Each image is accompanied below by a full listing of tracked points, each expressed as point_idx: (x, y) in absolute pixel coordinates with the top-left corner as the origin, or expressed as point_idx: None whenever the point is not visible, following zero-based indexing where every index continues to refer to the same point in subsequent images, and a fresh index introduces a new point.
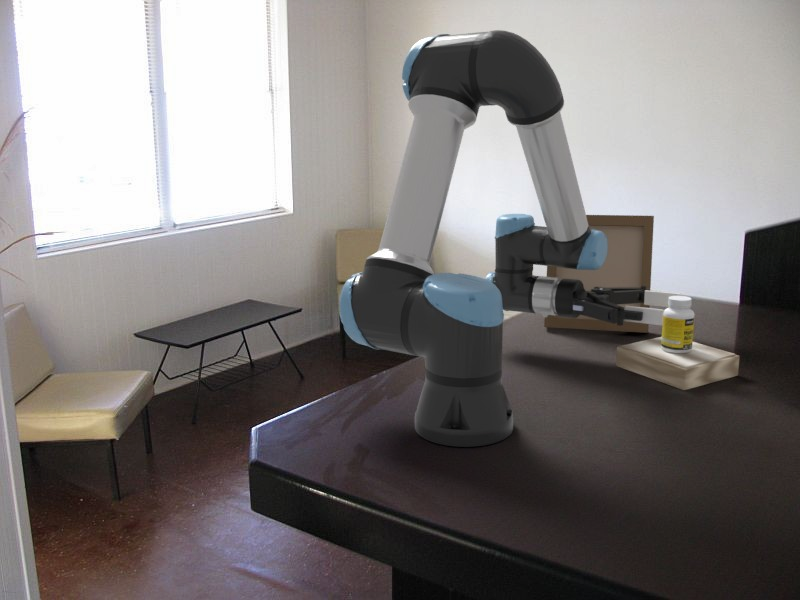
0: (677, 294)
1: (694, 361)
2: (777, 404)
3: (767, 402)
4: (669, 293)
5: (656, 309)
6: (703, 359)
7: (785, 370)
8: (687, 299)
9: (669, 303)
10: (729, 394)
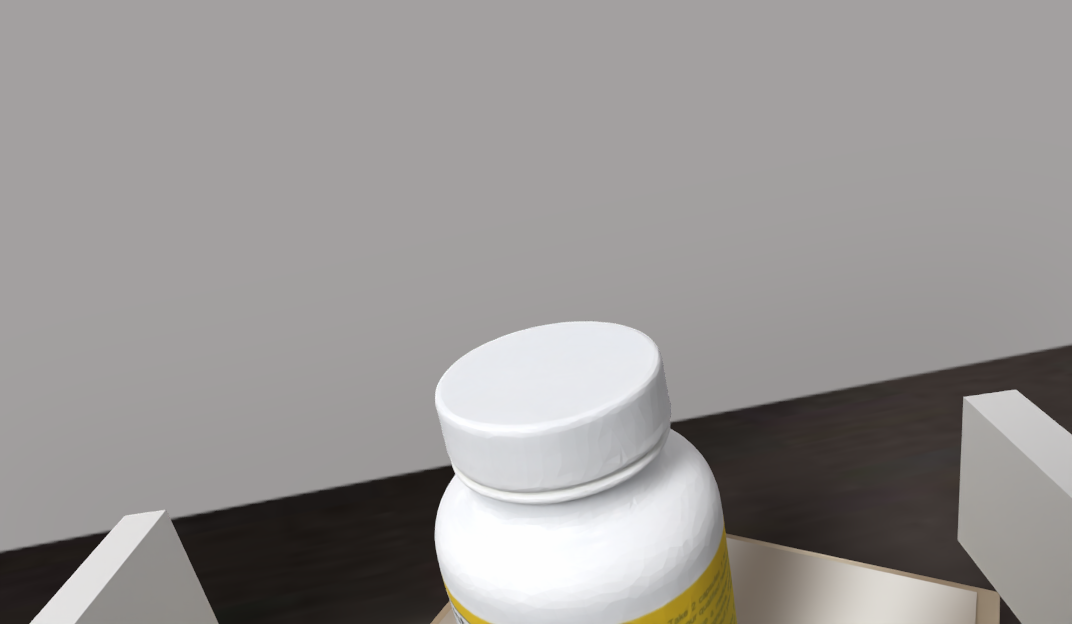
0: (157, 528)
1: (815, 587)
2: (812, 422)
3: (818, 440)
4: (98, 595)
5: (1048, 429)
6: (738, 564)
7: (416, 486)
8: (578, 328)
9: (636, 448)
10: (843, 533)
